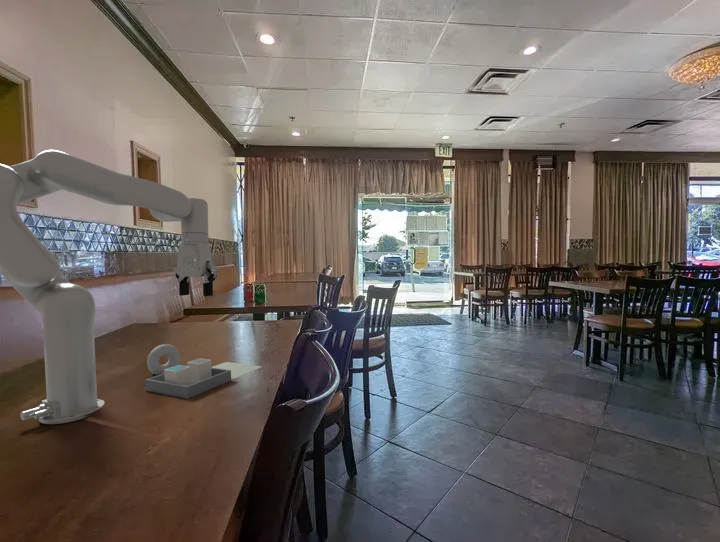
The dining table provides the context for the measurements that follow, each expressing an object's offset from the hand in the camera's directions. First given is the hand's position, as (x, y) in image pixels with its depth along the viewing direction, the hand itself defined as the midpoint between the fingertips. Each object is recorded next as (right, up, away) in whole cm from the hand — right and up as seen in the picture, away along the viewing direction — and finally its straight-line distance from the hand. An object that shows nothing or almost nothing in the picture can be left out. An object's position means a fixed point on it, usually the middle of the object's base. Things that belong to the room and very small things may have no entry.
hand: (196, 295), depth 111 cm
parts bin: (+1, -26, -7) cm, 27 cm away
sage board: (+8, -26, +7) cm, 28 cm away
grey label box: (+3, -25, -4) cm, 26 cm away
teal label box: (0, -25, -11) cm, 27 cm away
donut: (-13, -26, +6) cm, 30 cm away
